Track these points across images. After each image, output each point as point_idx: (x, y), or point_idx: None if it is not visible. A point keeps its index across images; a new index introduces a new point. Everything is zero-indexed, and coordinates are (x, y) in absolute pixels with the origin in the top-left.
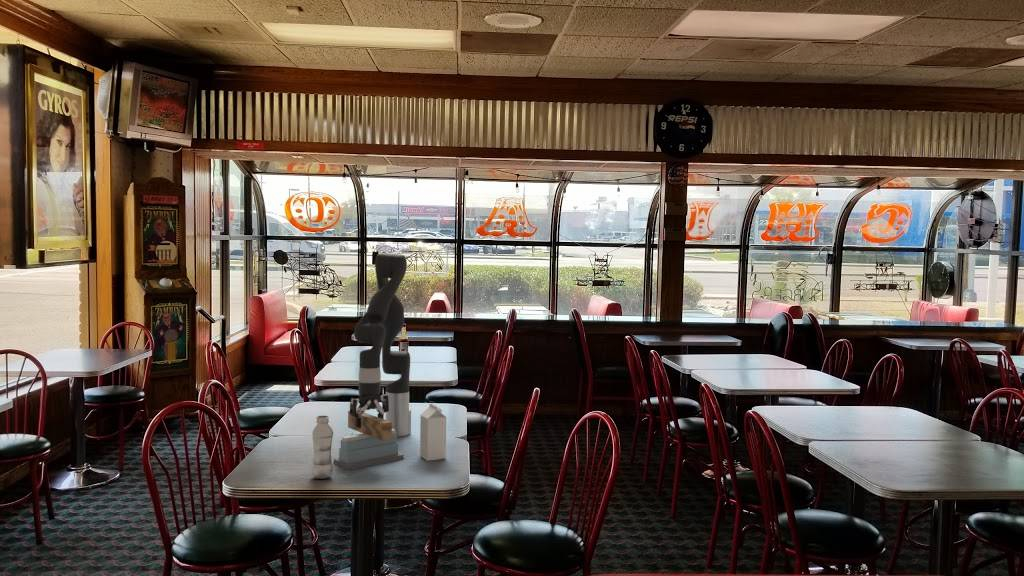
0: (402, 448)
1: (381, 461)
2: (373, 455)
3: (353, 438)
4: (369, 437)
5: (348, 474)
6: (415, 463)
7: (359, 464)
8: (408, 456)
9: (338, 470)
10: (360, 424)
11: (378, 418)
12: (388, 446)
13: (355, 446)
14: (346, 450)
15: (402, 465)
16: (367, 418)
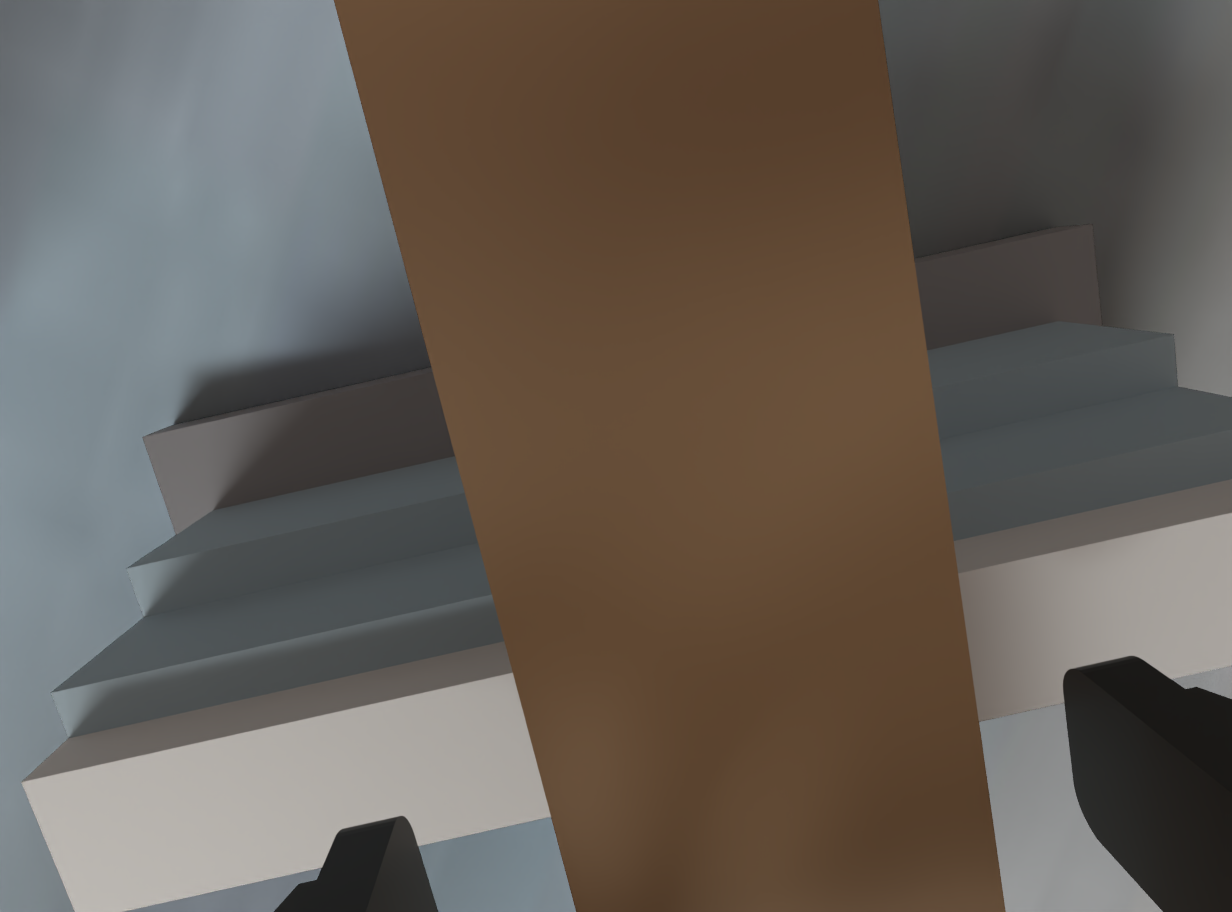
0: (58, 902)
1: None
2: None
3: (1143, 518)
4: None
5: (1136, 3)
6: (65, 117)
7: None
8: (74, 512)
9: (1173, 258)
10: (1157, 711)
11: (600, 564)
12: (347, 511)
13: (1025, 439)
14: (1184, 389)
15: (284, 100)
16: (988, 856)
